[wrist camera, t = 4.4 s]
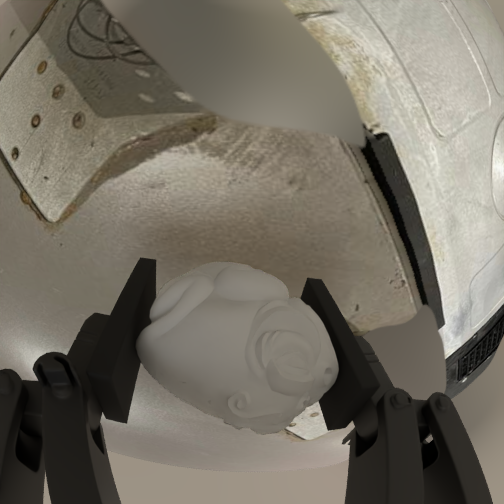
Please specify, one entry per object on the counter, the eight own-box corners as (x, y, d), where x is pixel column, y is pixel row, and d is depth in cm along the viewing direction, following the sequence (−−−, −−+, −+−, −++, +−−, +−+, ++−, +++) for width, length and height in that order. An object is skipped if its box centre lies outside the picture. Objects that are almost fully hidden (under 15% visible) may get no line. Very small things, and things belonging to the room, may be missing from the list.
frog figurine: (285, 338, 15) (317, 449, 8) (158, 331, 13) (136, 448, 7) (314, 238, 12) (392, 348, 6) (155, 222, 11) (90, 337, 5)
